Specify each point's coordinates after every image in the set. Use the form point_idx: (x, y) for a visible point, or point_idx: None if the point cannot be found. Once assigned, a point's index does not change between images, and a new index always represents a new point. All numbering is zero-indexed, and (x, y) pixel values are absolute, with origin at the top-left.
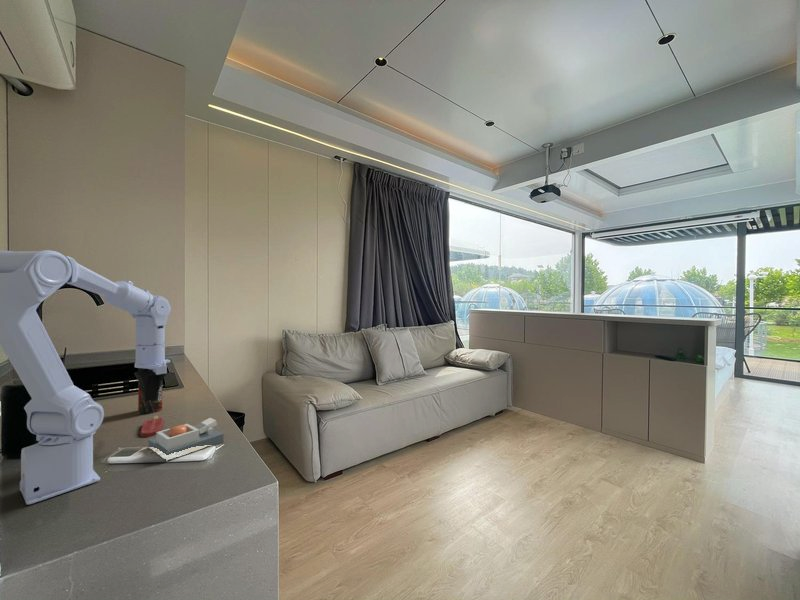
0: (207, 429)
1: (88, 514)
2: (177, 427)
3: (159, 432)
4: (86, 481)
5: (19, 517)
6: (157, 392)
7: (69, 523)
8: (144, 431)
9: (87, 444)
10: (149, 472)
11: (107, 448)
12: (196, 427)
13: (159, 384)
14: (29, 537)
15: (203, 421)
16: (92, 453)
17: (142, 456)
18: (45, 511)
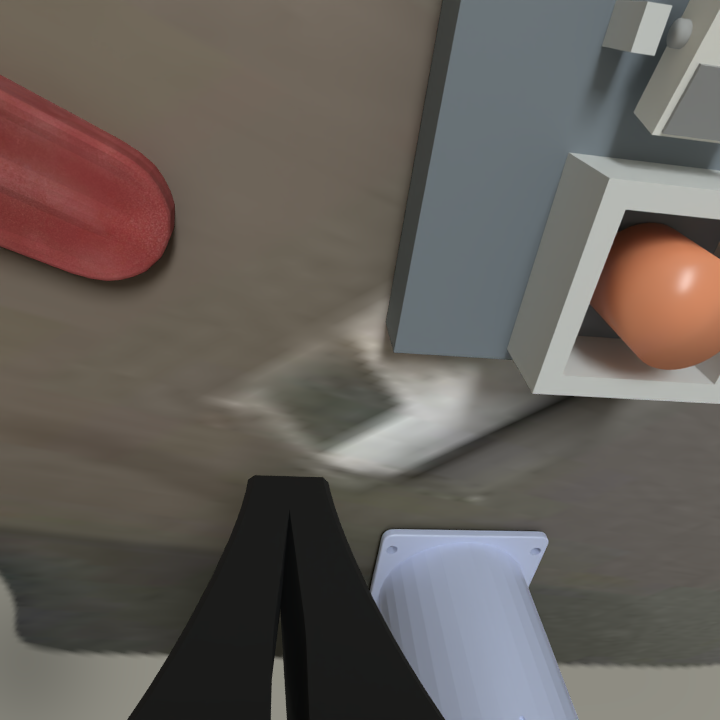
0: None
1: (714, 578)
2: (683, 320)
3: (560, 386)
4: (526, 564)
5: None
6: (345, 544)
7: (703, 604)
8: (99, 259)
9: (572, 708)
10: (673, 420)
11: (179, 436)
12: (704, 137)
13: (399, 663)
14: (664, 646)
15: (713, 35)
16: (524, 632)
17: (474, 379)
18: (574, 623)
